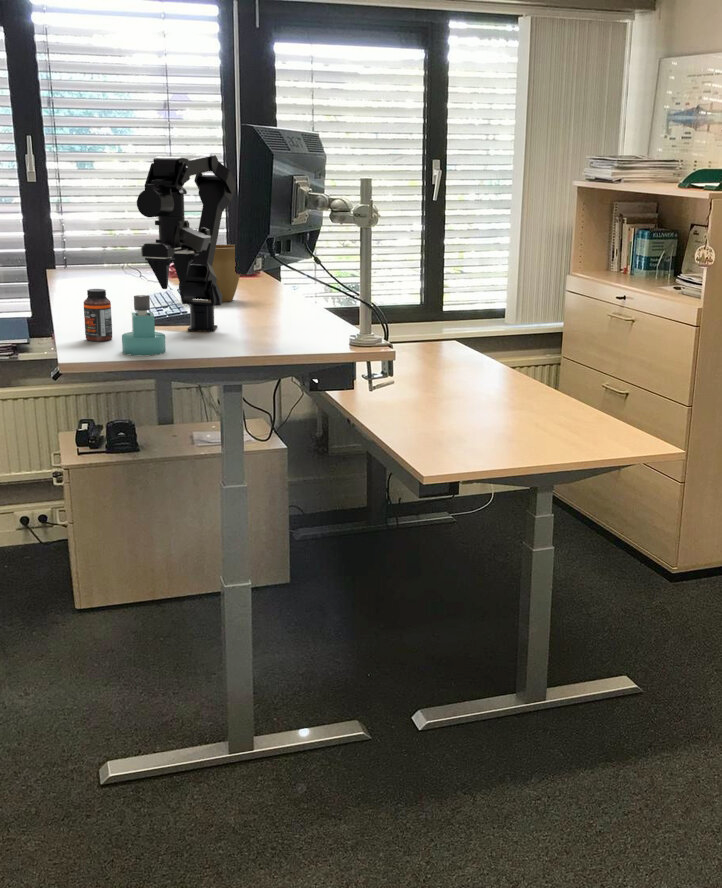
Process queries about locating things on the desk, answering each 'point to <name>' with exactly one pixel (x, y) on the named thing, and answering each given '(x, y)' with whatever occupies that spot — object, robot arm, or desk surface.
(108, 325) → the supplement bottle
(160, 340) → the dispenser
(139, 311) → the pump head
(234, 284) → the plant pot
